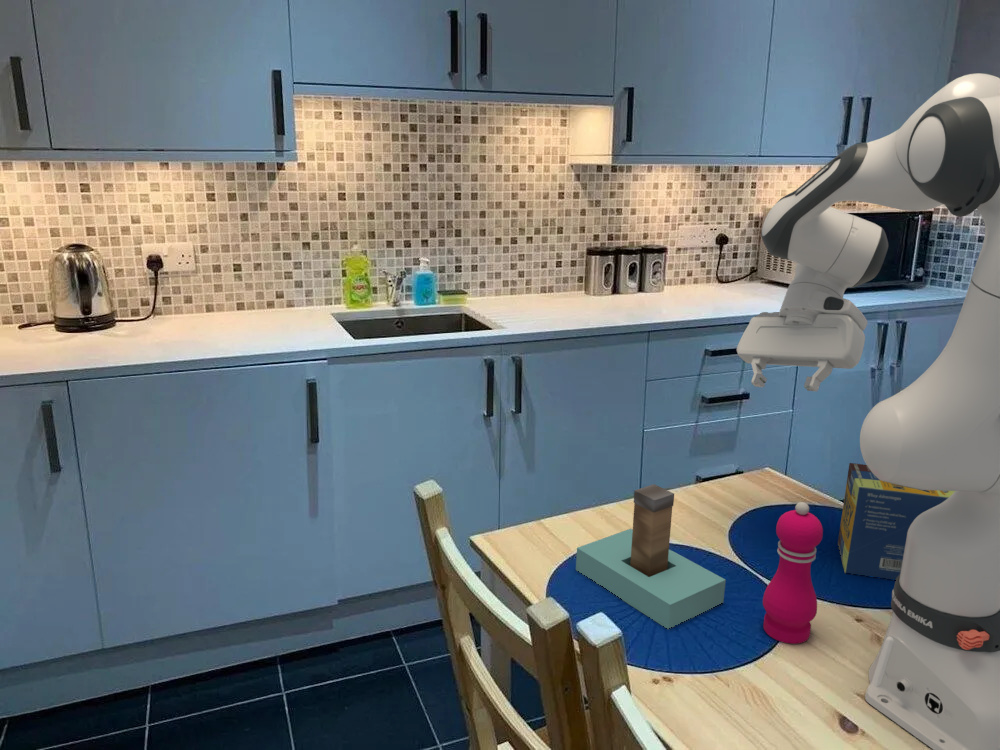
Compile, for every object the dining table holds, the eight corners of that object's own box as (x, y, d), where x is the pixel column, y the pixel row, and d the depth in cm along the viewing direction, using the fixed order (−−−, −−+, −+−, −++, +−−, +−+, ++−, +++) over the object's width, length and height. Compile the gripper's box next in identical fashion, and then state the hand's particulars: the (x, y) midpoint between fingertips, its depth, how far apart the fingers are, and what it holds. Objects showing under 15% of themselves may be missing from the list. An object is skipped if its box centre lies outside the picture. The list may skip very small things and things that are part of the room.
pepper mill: (748, 623, 116) (763, 496, 110) (787, 612, 119) (804, 488, 113) (784, 651, 110) (801, 518, 104) (824, 639, 112) (843, 509, 107)
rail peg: (666, 588, 125) (674, 493, 120) (647, 596, 122) (654, 500, 118) (647, 576, 128) (653, 484, 124) (628, 584, 126) (634, 490, 121)
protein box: (836, 544, 139) (848, 461, 135) (933, 557, 136) (949, 472, 131) (843, 574, 130) (857, 486, 125) (948, 589, 126) (966, 498, 122)
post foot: (723, 603, 121) (725, 579, 120) (668, 629, 114) (670, 604, 113) (629, 549, 136) (630, 528, 135) (575, 570, 130) (576, 547, 129)
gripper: (744, 303, 137) (718, 374, 134) (860, 301, 121) (834, 382, 117) (763, 321, 141) (737, 391, 137) (878, 322, 124) (852, 401, 121)
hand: (783, 387), depth 127 cm, fingers open, 8 cm apart
